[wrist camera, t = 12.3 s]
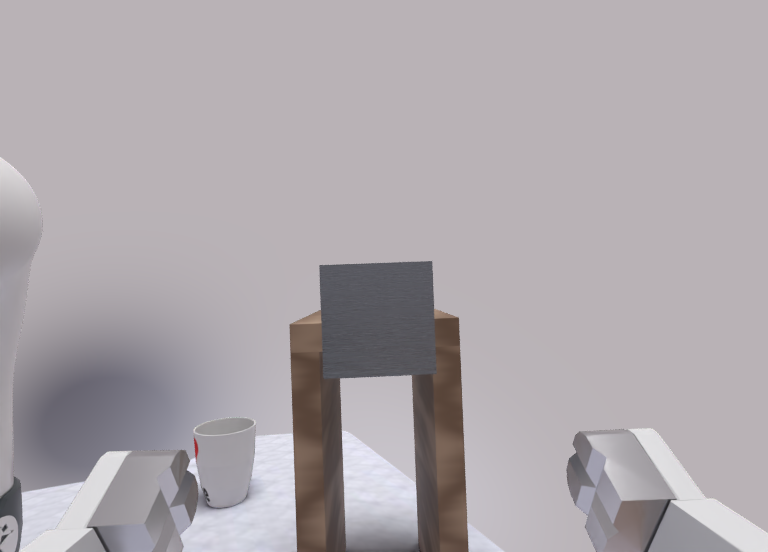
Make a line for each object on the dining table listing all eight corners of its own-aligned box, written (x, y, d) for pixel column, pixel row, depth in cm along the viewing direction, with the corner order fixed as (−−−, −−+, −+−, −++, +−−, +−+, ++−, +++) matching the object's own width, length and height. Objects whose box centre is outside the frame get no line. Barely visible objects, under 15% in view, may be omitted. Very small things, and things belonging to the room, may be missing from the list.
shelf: (302, 700, 31) (288, 281, 32) (327, 548, 49) (318, 283, 50) (474, 688, 31) (457, 275, 32) (436, 542, 49) (426, 279, 50)
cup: (212, 485, 66) (210, 417, 66) (266, 485, 65) (264, 416, 66) (183, 513, 58) (181, 436, 58) (244, 514, 57) (242, 435, 57)
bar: (323, 379, 12) (319, 265, 12) (356, 314, 38) (355, 279, 38) (436, 373, 12) (432, 261, 12) (391, 313, 38) (390, 278, 38)
